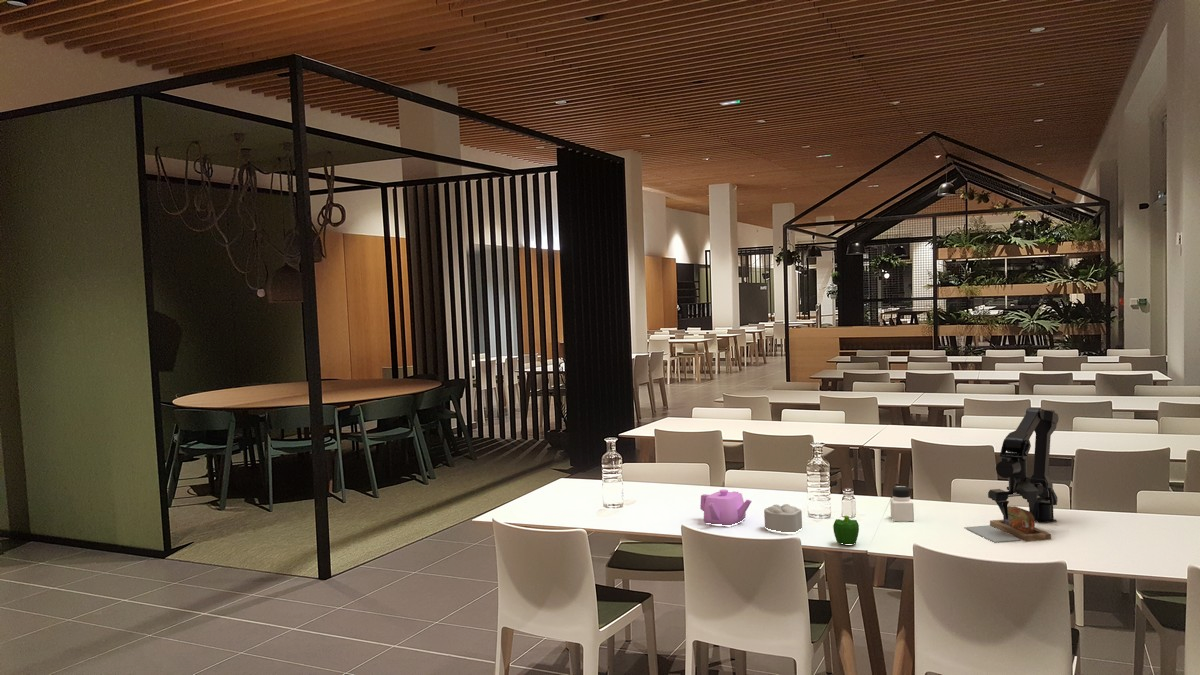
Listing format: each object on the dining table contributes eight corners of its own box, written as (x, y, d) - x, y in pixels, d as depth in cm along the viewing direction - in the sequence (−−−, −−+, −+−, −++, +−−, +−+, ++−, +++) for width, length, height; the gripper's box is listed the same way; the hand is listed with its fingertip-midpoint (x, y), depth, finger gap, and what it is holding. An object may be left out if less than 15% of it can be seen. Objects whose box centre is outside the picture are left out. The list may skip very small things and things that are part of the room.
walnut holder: (1014, 523, 299) (1014, 518, 299) (1051, 539, 278) (1051, 534, 278) (990, 525, 298) (989, 520, 298) (1025, 541, 277) (1025, 536, 277)
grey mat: (988, 526, 297) (988, 525, 297) (1020, 540, 278) (1020, 539, 278) (964, 528, 296) (964, 527, 296) (994, 542, 277) (994, 541, 277)
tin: (1002, 527, 295) (1002, 503, 295) (1011, 526, 295) (1010, 502, 295) (1028, 538, 280) (1027, 513, 280) (1037, 538, 280) (1036, 512, 280)
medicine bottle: (914, 521, 308) (912, 489, 308) (893, 521, 309) (892, 489, 309) (910, 516, 315) (909, 484, 315) (890, 516, 316) (889, 485, 316)
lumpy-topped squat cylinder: (793, 535, 298) (792, 511, 298) (759, 531, 306) (758, 507, 306) (805, 528, 306) (804, 504, 306) (771, 524, 314) (770, 501, 314)
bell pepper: (835, 539, 290) (834, 510, 290) (860, 541, 287) (859, 512, 287) (832, 546, 282) (831, 517, 282) (857, 548, 279) (856, 518, 279)
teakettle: (738, 515, 331) (737, 483, 331) (754, 525, 314) (752, 492, 314) (696, 519, 328) (695, 487, 328) (710, 530, 311) (708, 496, 311)
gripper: (1004, 479, 278) (1006, 526, 279) (1058, 475, 280) (1060, 522, 280) (986, 473, 289) (988, 518, 290) (1038, 469, 291) (1039, 514, 292)
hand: (1019, 518), depth 288 cm, fingers open, 9 cm apart
